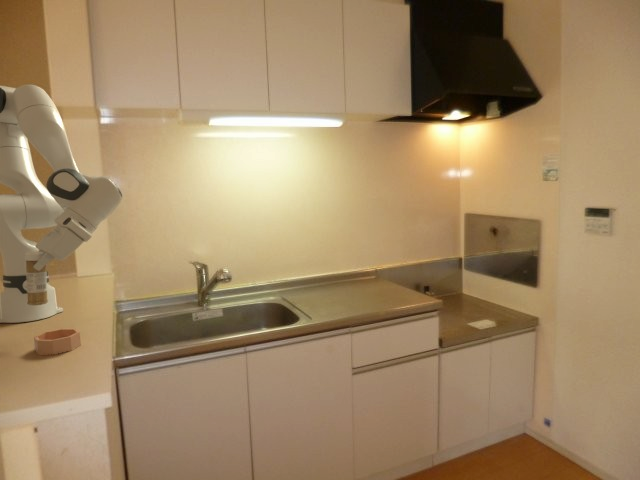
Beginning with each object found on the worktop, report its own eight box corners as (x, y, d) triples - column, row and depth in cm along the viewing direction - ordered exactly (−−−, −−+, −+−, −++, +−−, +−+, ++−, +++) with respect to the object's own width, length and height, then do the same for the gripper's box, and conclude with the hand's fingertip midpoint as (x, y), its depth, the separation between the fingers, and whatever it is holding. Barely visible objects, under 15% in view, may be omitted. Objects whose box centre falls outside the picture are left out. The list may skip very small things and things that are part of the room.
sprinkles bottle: (45, 301, 114) (44, 250, 113) (49, 304, 111) (48, 252, 110) (25, 303, 111) (23, 252, 110) (28, 306, 108) (27, 253, 106)
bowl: (33, 348, 108) (32, 334, 107) (74, 339, 114) (73, 326, 113) (40, 357, 101) (39, 343, 100) (83, 347, 107) (82, 334, 107)
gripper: (54, 217, 121) (15, 255, 115) (73, 221, 106) (29, 264, 100) (73, 232, 124) (36, 270, 119) (93, 237, 109) (52, 280, 104)
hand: (33, 267), depth 109 cm, fingers closed on sprinkles bottle, 4 cm apart
